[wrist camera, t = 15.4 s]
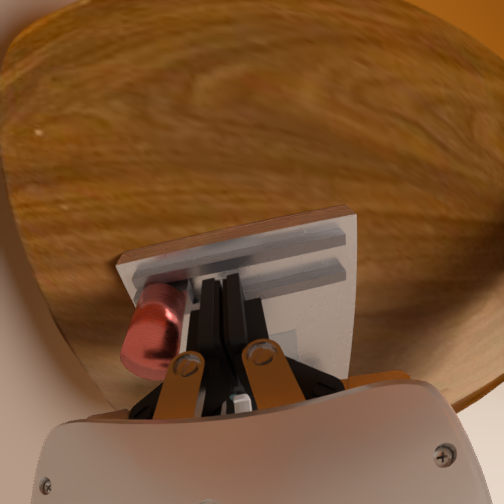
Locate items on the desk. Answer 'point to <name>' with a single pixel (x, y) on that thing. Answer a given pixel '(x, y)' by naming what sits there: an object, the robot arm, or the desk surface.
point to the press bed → (272, 278)
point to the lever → (156, 328)
